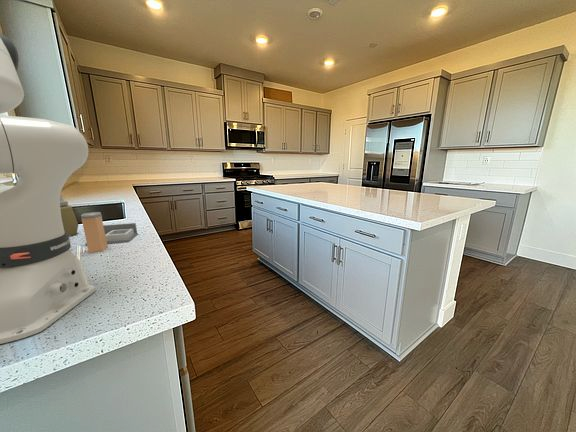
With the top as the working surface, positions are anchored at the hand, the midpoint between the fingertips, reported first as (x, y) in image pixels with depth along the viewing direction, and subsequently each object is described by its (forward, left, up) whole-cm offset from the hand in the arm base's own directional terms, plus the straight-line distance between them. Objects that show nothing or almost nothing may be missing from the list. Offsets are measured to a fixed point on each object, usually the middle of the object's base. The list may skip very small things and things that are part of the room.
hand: (34, 195), depth 75 cm
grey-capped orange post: (0, -14, -20) cm, 24 cm away
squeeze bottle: (+24, +7, -20) cm, 32 cm away
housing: (+11, -15, -20) cm, 27 cm away
